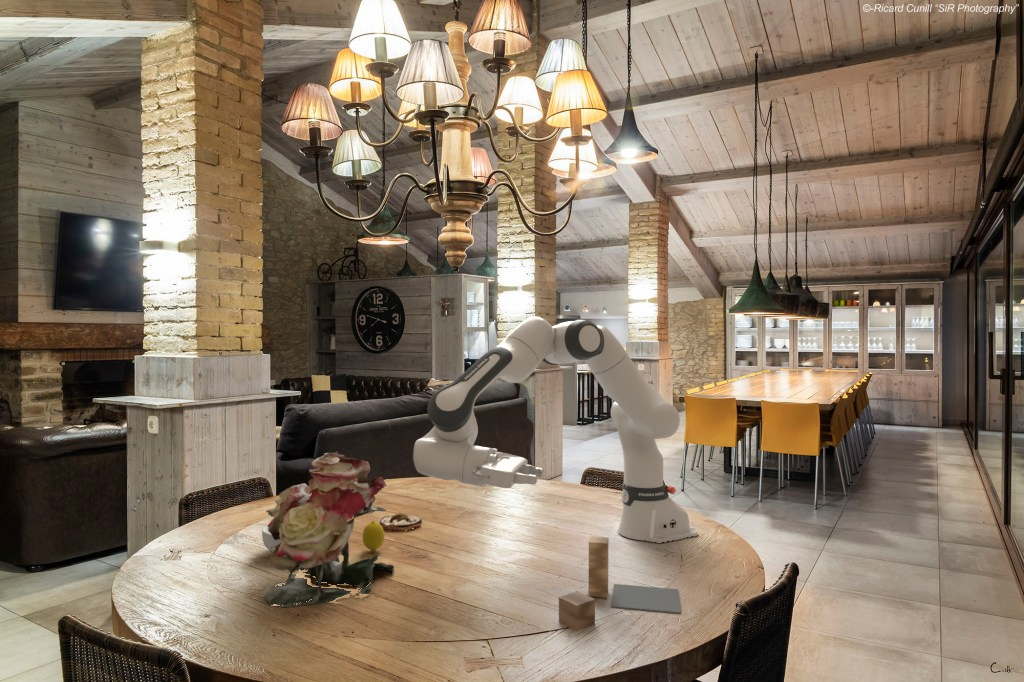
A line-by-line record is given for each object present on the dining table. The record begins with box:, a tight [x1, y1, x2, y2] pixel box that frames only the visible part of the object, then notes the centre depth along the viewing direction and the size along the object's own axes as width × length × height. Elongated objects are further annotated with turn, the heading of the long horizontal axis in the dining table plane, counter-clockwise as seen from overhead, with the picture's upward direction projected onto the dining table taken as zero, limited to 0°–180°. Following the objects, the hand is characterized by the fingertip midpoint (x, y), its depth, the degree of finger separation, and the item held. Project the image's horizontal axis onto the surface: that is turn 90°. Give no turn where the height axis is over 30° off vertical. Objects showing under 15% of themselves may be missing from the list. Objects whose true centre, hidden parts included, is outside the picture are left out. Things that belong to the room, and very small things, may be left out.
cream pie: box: [379, 512, 423, 532], centre depth 188 cm, size 15×15×4 cm
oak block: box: [587, 535, 609, 600], centre depth 137 cm, size 4×4×12 cm
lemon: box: [362, 520, 385, 552], centre depth 165 cm, size 6×6×8 cm
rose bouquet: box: [264, 452, 395, 608], centre depth 142 cm, size 26×29×30 cm
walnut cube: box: [558, 590, 596, 632], centre depth 124 cm, size 5×5×5 cm
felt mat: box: [610, 583, 682, 615], centre depth 135 cm, size 14×12×1 cm
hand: (540, 476), depth 141 cm, fingers open, 8 cm apart
